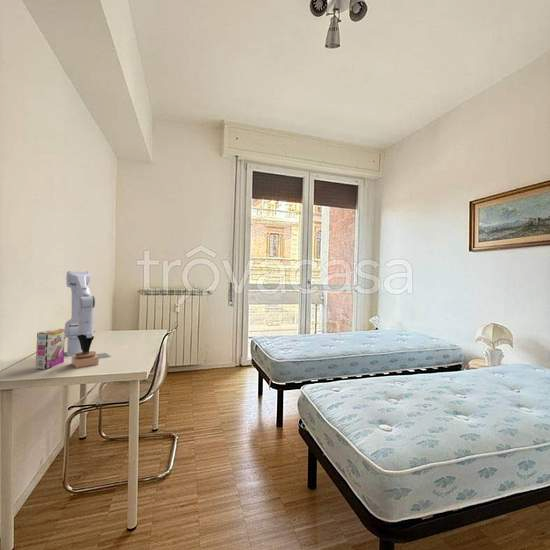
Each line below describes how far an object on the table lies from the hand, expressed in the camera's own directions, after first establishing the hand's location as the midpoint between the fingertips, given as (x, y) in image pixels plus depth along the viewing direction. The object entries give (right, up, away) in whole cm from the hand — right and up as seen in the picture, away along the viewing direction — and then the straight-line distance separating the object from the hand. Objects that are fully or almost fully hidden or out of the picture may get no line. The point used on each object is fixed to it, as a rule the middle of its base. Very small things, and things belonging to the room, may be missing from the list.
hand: (85, 350), depth 140 cm
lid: (0, -2, 0) cm, 2 cm away
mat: (-2, -7, +13) cm, 15 cm away
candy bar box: (-14, -7, -3) cm, 16 cm away
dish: (0, -7, 0) cm, 7 cm away
